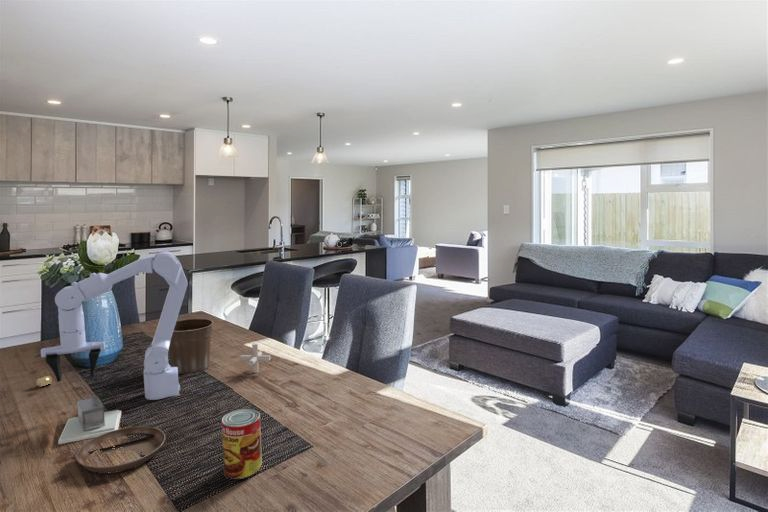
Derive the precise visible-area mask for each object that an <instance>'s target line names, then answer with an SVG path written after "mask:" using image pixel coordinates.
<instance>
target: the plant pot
mask: <svg viewBox="0 0 768 512" xmlns="http://www.w3.org/2000/svg"><path fill="white" fill-rule="evenodd" d="M213 326H214V320H212V319H207V318H186V319H179V320H177V321H176V324H175V327H174V331H173V334H172V337H171V340H170V345H169V350H168V352H169V354H170V361H171V362H170V363H171V367H178V375H187V374H188V375H189V374H193V373H195V372H196V373H198V372H203V371H206V370H207V369H208V368H210V363H211V361H210V360H211V338H212V333H213Z"/></svg>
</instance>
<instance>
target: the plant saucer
mask: <svg viewBox="0 0 768 512" xmlns="http://www.w3.org/2000/svg"><path fill="white" fill-rule="evenodd" d="M134 434H136V435H137V434H148V435H151V436H148V437H144V438H139V439H136V440H132V441H127V442H124V443H120V444H116V445H111V446H107V448H106V447H103V448H99V449H100V451H101V450H102V453H103V454H105V453H106V452H107V453H111V454H108V455H112V454H114V453H115V452H116V451H117V450H118V448H119V449H124V450H119V451H127V450H131V451H136V453H139V454H142V455H145V456H144V457H141V458H139V459H137V460H134V461H131V462H128V463H124V464H119V465H113V466H103V467H97V466H89V465H85V460H86V459H87V457H89V455H90V454H92V453H93V452H94V451H96V450H97V449H95V450H92V449H94V448H95V447H97V446H99V445H101V444H102V443H105V442H107V441H110V440H113V439H116V438H120V437H123V436H128V435H134ZM165 440H166V434H165V432H164V431H163V430H161V429H159V428H157V427H152V426H130V427H124V428H118V430H115V431H111V432H108V433H105V434H103V435H100V436H98V437H94V438H91V440H89V441H86V442H85V443H84V444H83V445H82V446H81V447H80V448H79V449H78V450H77V453H75V454H76V455H75V460H76V461H77V462H78V464H80V465H81V466H82V467H83V468H85V469H87V471H89V472H92V471H93V472H92V473H95V472H100V473H99V474H102V473H108V472H116V471H122V470H126V469H129V470H131V469H130V468H132V467H135V466H137V467H139V466H141V465H143V464H144V462H145V463H146V461H147V462H149V461H150V460H151V459H152V458H154V456H155V455H156V454H157V453H158V452H159V450H160V449H161V448H162V446H163V444H164V443H165V442H166V441H165ZM113 446H115V447H113ZM120 447H123V448H120ZM112 448H115V449H112ZM127 452H128V451H127ZM140 452H142V453H140ZM150 452H151V453H150ZM149 459H150V460H149ZM142 463H143V464H142ZM140 464H141V465H140ZM138 465H139V466H138ZM135 468H136V467H135ZM132 469H133V468H132ZM126 471H127V470H126ZM122 472H123V471H122ZM108 474H109V473H108Z"/></svg>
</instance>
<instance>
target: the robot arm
mask: <svg viewBox="0 0 768 512" xmlns="http://www.w3.org/2000/svg"><path fill="white" fill-rule="evenodd" d="M153 270H154V271H153ZM153 272H155V273H157V274H158V275H159V276H160V277H162V278H163V279H164V280H165V282H166V283H167V284H168V286H169V288H168V292H167V295H166V297H165V300H164V304H163V308H162V310H161V314H160V317H159V320H158V323H157V326H156V330H155V332H154V336H153V338H152V342H151V344H150V345H149V346H148V347H147V349H145V351H144V352H145V353H144V360H143V367H144V369H143V383H144V397H145V399H146V400H149V401H150V400H152V401H155V400H156V401H157V400H161V399H165V398H169V397H176V396H180V391H181V385H180V384H179V374H178V367H172V366H171V364H169V358H168V357H169V345H170V340H171V337H172V334H173V331H174V327H175V324H176V321H178V317H179V314H180V311H181V308H182V304H183V300H184V299H185V296H186V295H185V294H186V291H187V288H188V284H189V283H188V279H187V277H186V275H185V272H184V269H183V266H182V263H181V262H180V260H179V258H177V256H176V255H175V254H174V253H173V252H171V251H169V250H162V251H159V252H157V253H156V254H155V253H154V254H149V255H147V256H145V257H141V258H139V259H136V260H135V261H133V262H131V263H129V264H126V265H123V267H120V268H118V269H116V270H114V271H111V272H110V273H103V272H97V273H96V272H93V273H90V274H89V277H87V278H84V279H82V280H80V281H78V282H76V281H73V282H72V283H70V285H69V286H65V287H63V288H62V289H61V290H58V292H57V293H56V294H55V297H54V303H55V306H57V311H58V316H57V317H58V329H59V339H60V340H59V341H60V345H56V346H50V347H45V348H41V349H40V358H45V363H46V364H47V365H48V366H49V367H50V369H51V370H52V371H53V374H54V376H55V378H56V382H59V383H60V382H61V381H62V380H63V375H62V367H61V355H67V354H74V353H82V352H84V353H85V352H89V353H88V359H89V369H90V370H89V371H90V373H89V374H90V377H91V378H94V376H95V373H96V371H95V370H96V365H97V363H98V359H99V356H100V353H101V352H102V351H104V350H105V349H106V341H103V340H102V341H89V342H87V340H86V338H87V337H86V336H87V335H86V327H85V324H86V323H85V316H84V314H85V312H84V310H83V303H82V302H89V301H90V300H93V299H95V298H97V297H99V296H100V297H101V296H102V295H104V294H106V293H108V292H111V290H112V288H113V285H115V284H117V283H119V282H121V281H125V280H127V279H129V278H131V277H133V276H135V275H138V274H141V273H144V274H145V273H146V274H153Z"/></svg>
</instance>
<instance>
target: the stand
mask: <svg viewBox="0 0 768 512" xmlns="http://www.w3.org/2000/svg"><path fill="white" fill-rule="evenodd" d="M121 417H122V410H119V409H115V410H110V411H104V420H105V426H102V427H98V428H94V429H91V430H87V431H83V429H82V427H81V424H80V422H79V419H78V416H75V417H69V419H67V420H66V424H65V426H64V428H63V430H62V432H61V434H60V436H59V438H58V441H57V442H58V445H61V444H67V443H72V442H78V441H83V440H88V439H94V438H96V437H98V436H100V435H103V434H105V433H108V432H111V431H115V430H119V425H120V422H121Z"/></svg>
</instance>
